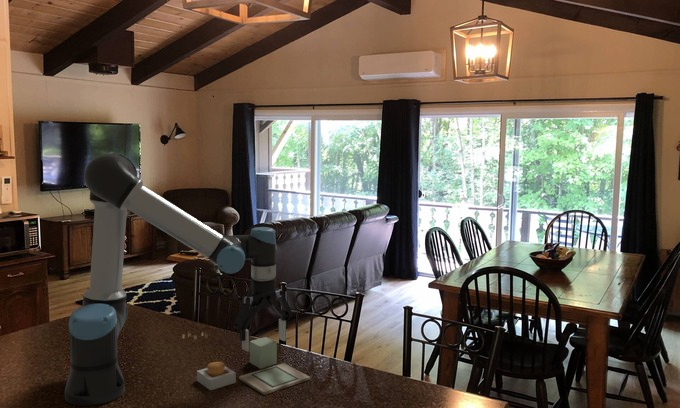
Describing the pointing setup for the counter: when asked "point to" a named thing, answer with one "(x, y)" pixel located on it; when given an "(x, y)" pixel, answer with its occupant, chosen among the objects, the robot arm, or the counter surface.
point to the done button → (216, 369)
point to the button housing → (216, 378)
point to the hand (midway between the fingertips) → (264, 344)
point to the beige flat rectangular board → (274, 378)
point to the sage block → (263, 352)
